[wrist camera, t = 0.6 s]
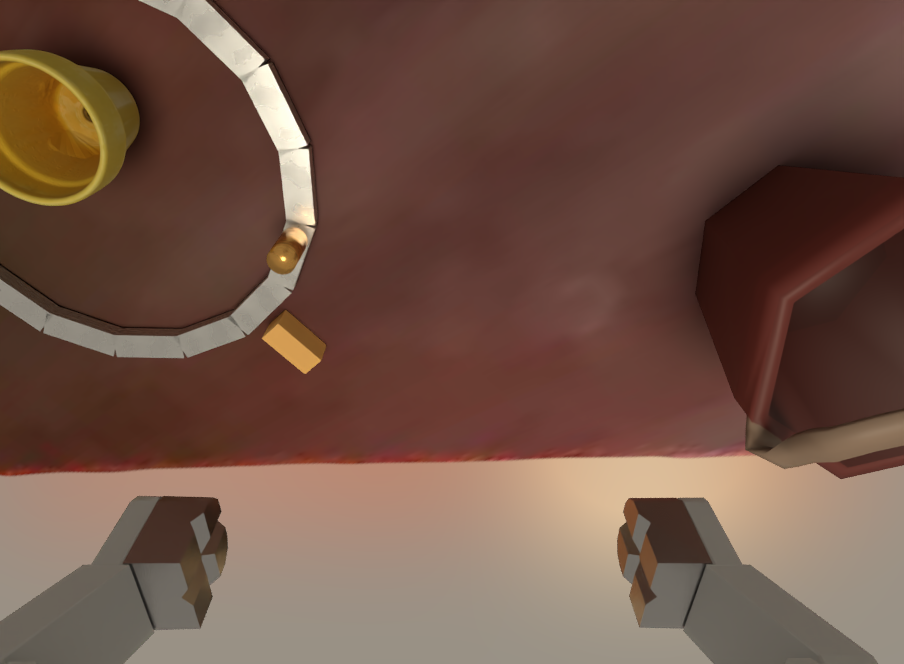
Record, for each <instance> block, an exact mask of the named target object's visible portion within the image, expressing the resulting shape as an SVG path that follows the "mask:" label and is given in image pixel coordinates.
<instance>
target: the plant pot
mask: <svg viewBox="0 0 904 664" xmlns="http://www.w3.org/2000/svg"><path fill="white" fill-rule="evenodd" d="M87 112H88V114H89V116H90V117H89V116H88V114H87ZM139 125H140V118H139V112H138V108H137V105H136V102H135V100H134V98H133V96H132V95H131V93H130V92H129V91H128V89H127V88H126V87H125V86H124V85H123V84H122V83H121V82H120V81H119V80H118V79H116V78H115V77H114V76H112V75H111V74H109V73H107V72H105V71H102V70H100V69H96V68H91V67H86V66H80V65H76V64H75V63H73V62H71V61H69V60H67V59H65V58H63V57H61V56H58V55H55V54H52V53H49V52H45V51H40V50H30V49H21V50H6V51H0V188H1V189H2V190H4V191H6V192H7V193H9V194H11V195H13V196H15V197H17V198H20V199H22V200H25V201H28V202H31V203H35V204H40V205H47V206H62V205H68V204H73V203H76V202H78V201H81V200H83V199H85V198H87V197H89V196H90V195H92V194H94V193H96V192H97V191H99V190H100V189H102V188H103V187H105V186H106V185H107V184H109V183H110V182H111V181H112V180H113V179H114V178H115V177H116V176H117V174H118V173H119V171H120V169H121V167H122V165H123V162H124V159H125V154H126V150H127V149H128V148H129V146H130V145H131V144H132V143H133V141H134V140H135V138H136V136H137V134H138V131H139Z"/></svg>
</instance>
